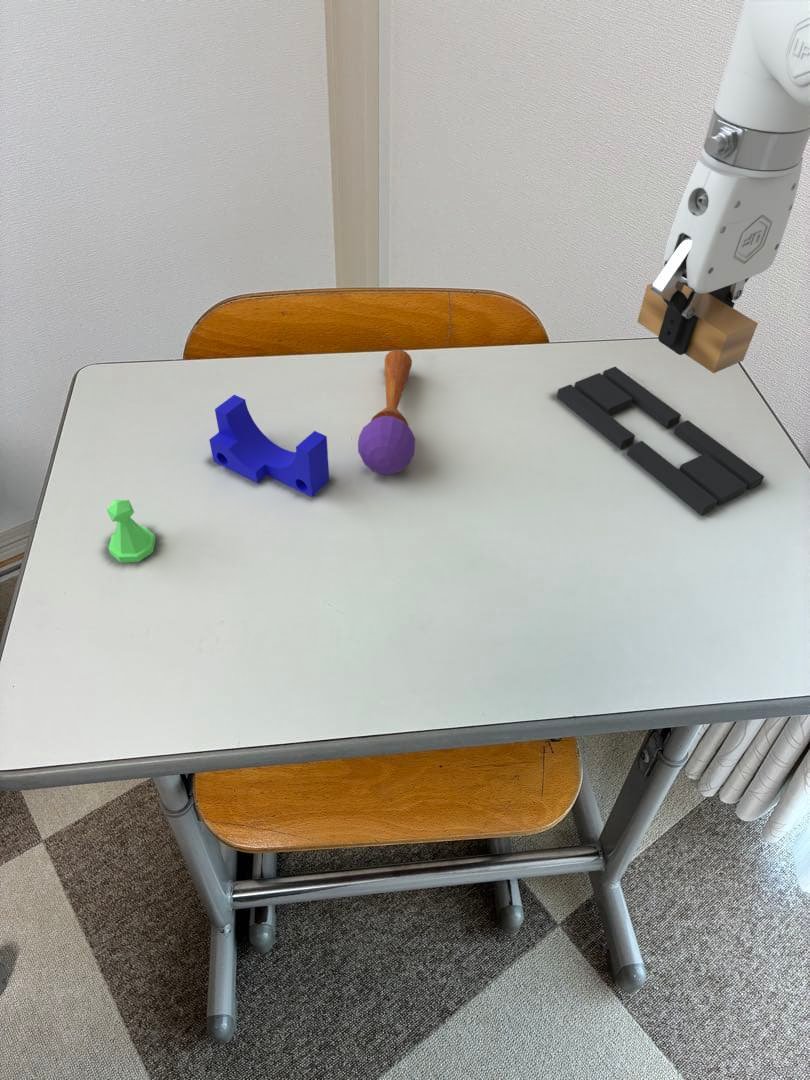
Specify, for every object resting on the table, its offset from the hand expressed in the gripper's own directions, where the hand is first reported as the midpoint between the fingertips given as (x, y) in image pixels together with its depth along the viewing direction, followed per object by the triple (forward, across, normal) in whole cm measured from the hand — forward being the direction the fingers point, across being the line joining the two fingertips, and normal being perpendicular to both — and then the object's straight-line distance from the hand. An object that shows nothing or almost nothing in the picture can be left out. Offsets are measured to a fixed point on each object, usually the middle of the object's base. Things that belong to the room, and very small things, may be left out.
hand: (689, 338), depth 76 cm
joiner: (0, 0, 0) cm, 0 cm away
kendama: (+15, -22, +19) cm, 33 cm away
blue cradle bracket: (+15, -36, +19) cm, 44 cm away
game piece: (+15, -52, +16) cm, 57 cm away
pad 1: (+15, +2, +8) cm, 17 cm away
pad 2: (+15, +2, -4) cm, 16 cm away
